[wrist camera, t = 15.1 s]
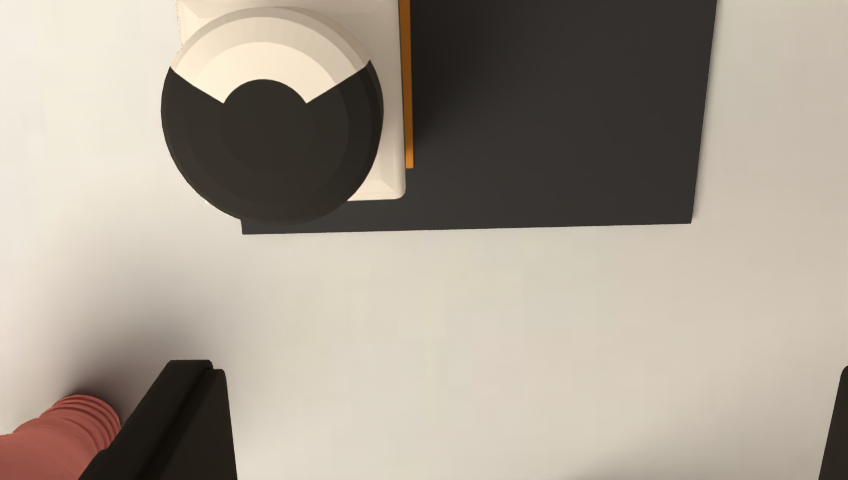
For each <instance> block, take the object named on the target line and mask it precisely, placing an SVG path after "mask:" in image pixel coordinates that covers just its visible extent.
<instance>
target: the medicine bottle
mask: <svg viewBox="0 0 848 480" xmlns="http://www.w3.org/2000/svg"><path fill="white" fill-rule="evenodd" d="M176 11H177V18H178V25H179V32H180V39H181V46H182V47H181V49H180V50H179V51H178V52H177V54H176V56H175V58H174V60H173V62H172V63H171V65H170V67H169V70H168V73H167V76H166V78H165V82H164V87H163V91H162V99H161V119H162V128H163V132H164V137H165V141H166V144H167V147H168V149H169V152H170V155H171V157H172V159H173V161H174V162H175V164H176V166H177V168H178V170H179V171H180V173H181V174H182V175H183V177H184V178H185V180H186V181H187V182H188V183H189V185H190V186H191V187H192V188H193V189H194V190H195V191H196V192H197V193H198V194H199V195H200V196H201V197H203V199H204V201H205V202H206V203H207V204H208V205H212V206H215V207H216V208H218V209H219V210H221V211H222V212H224V213H226V214H229V215H231V216H233V217H235V218H237V219H240V220H244V221H247V222H250V223H254V224H260V225H266V226H291V225H297V224H302V223H307V222H310V221H313V220H316V219H318V218H321V217H323V216H325V215H327V214H329V213H331V212H333V211H334V210H336V209H337V208H338V207H340V206H341V205H343V204H344V203H345V202H346V201H355V200H382V199H397V198H400V197H402V196H403V195H404V194H405V189H406V145H405V121H404V96H403V72H402V47H401V23H400V0H176Z"/></svg>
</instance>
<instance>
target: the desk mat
mask: <svg viewBox="0 0 848 480" xmlns="http://www.w3.org/2000/svg"><path fill="white" fill-rule="evenodd" d="M716 3H717V0H400V23H401V47H402V72H403V96H404V121H405V145H406V189H405V194H404V195H403V196H402V197H400V198H397V199H382V200H355V201H346V202H345V203H344V204H343V205H341V206H340V207H338V208H337V209H336V210H334V211H333V212H331V213H329V214H327V215H325V216H323V217H321V218H318V219H316V220H313V221H310V222H307V223H302V224H297V225H291V226H266V225H260V224H254V223H250V222H247V221H244V220H241V225H242V234H244V235H245V234H286V233H327V232H368V231H409V230H449V229H490V228H531V227H572V226H613V225H654V224H691V221H692V212H693V203H694V195H695V186H696V177H697V168H698V160H699V151H700V142H701V134H702V125H703V116H704V108H705V99H706V90H707V82H708V73H709V64H710V55H711V47H712V38H713V29H714V21H715V12H716Z"/></svg>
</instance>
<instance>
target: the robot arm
mask: <svg viewBox="0 0 848 480" xmlns="http://www.w3.org/2000/svg"><path fill="white" fill-rule="evenodd" d="M78 480H237V471H236V462H235V453H234V445H233V436H232V427H231V418H230V409H229V400H228V391H227V382H226V376H225V372H224V371H223V370H222V369H214V368H213V365H212V362H211V361H210V360H170V361H169V362H168V363H167V365H166V366H165V367H164V369H163V370H162V372H161V373H160V375H159V376H158V377H157V379H156V380H155V382H154V383H153V384H152V386H151V387H150V389H149V390H148V392H147V393H146V394H145V396H144V397H143V399H142V400H141V401H140V403H139V404H138V406H137V407H136V409H135V410H134V411H133V413H132V414H131V416H130V417H129V418H128V420H127V421H126V423H125V424H124V426H123V427H122V428H121V430H120V431H119V433H118V434H117V435H116V437H115V438H114V440H113V441H112V443H111V444H110V445H109V447H108V448H106V449H103V450H100V451H99V452H98V453H97V454H96V455H95V457H94V458H93V459H92V460H91V462H90V463H89V465H88V466H87V467H86V469H85V470H84V471H83V473H82V474H81V476H80V477H79V478H78ZM818 480H848V366H846V367H845V368H844V369H843V371H842V374H841V377H840V382H839V387H838V391H837V396H836V400H835V405H834V410H833V414H832V419H831V424H830V428H829V433H828V437H827V442H826V447H825V451H824V456H823V461H822V465H821V470H820V474H819V479H818Z"/></svg>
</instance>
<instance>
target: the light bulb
mask: <svg viewBox="0 0 848 480" xmlns="http://www.w3.org/2000/svg"><path fill="white" fill-rule="evenodd" d="M120 430H121V426H120V422H119V418H118V416H117V415H116V413H115V411H114V410H113V408H111V407H110V406H109V405H108V404H107V403H105V402H104V401H102V400H100V399H98V398H96V397H93V396H88V395H82V394H75V395H71V396H66V397H64V398H62V399H60V400H59V401H57V402H56V403H55V404H54V405H53V406H52V407H51V408H50V409H48V410H47V411H45V412H44V413H43V414H42V415H41V416H40V417H39V418H36V419H32V420H30V421H27V422H25V423H24V424H22V425H20V426H19V427H18V428H17V429H16V430H15V431H14V432H13V433H11V434H6V435H1V436H0V480H78V478H79V477H80V476H81V474H82V473H83V471H84V470H85V469H86V467H87V466H88V465H89V463H90V462H91V460H92V459H93V458H94V457H95V455H96V454H97V453H98V452H99V451H100V450H103V449H106V448H108V447H109V445H110V444H111V443H112V441H113V440H114V438H115V437H116V435H117V434H118V433H119V431H120Z"/></svg>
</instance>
